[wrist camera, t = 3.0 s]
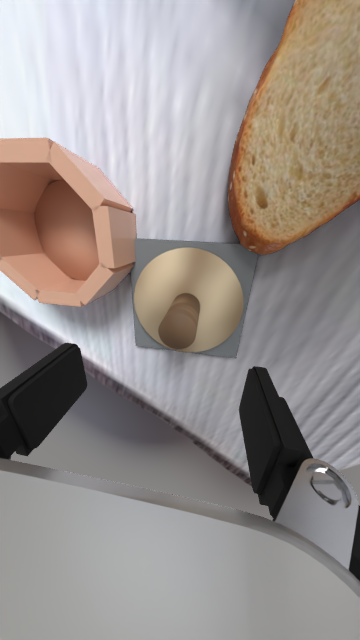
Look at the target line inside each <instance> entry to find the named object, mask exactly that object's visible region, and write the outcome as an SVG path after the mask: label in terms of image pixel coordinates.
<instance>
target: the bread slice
mask: <svg viewBox="0 0 360 640" xmlns="http://www.w3.org/2000/svg"><path fill="white" fill-rule="evenodd" d="M359 199H360V0H296V1H295V3H294V5H293V7H292V9H291V11H290V14H289V16H288V19H287V22H286V26H285V29H284V32H283V35H282V39H281V42H280V44H279V46H278V47H277V49H276V51H275V52H274V54H273V55H272V57H271V58H270V60H269V61H268V63H267V64H266V66H265V68H264V70H263V72H262V75H261V77H260V80H259V82H258V84H257V87H256V89H255V91H254V93H253V95H252V97H251V99H250V101H249V104H248V107H247V110H246V113H245V116H244V118H243V121H242V124H241V127H240V130H239V132H238V135H237V138H236V141H235V146H234V150H233V154H232V161H231V168H230V174H229V185H228V203H229V213H230V217H231V221H232V225H233V228H234V231H235V233H236V235H237V236H238V238H239V240H240V244H241V245H243V246H244V247H245V248H247V249H248V250H249V251H252V252H255V253H258V254H262V255H266V254H270V253H272V252H275V251H278V250H280V249H282V248H284V247H285V246H286V245H288V244H290V243H292V242H295V241H296V240H298V239H301V238H303V237H305V236H306V235H308V234H310V233H311V232H313V231H314V230H316V229H317V228H318V227H320V226H322V225H323V224H325V223H327V222H329V221H330V220H332V219H333V218H334V217H336V216H337V215H338V214H340V213H341V212H342V211H344V210H345V209H346V208H348V207H349V206H351V205H353V204H354V203H355V202H357V201H358V200H359Z"/></svg>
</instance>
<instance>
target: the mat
mask: <svg viewBox="0 0 360 640" xmlns="http://www.w3.org/2000/svg"><path fill="white" fill-rule="evenodd" d="M134 242H135V259H136V262H133V263H132V264H133V265H134V267H133V268H132V269H131V270H130V271H131V285H132V299H133V314H134V328H135V342H136V346H143V347H151V348H159V349H167V350H173V349H170V348H168V347H165V346H164V345H162V344H160V343H159V342H157V341H156V340H154V339H153V338H152V337H151V336H150V335H149V334H148V333H147V332H146V331H145V329H144V328H143V326H142V325H141V323H140V321H139V319H138V316H137V314H136V310H135V304H134V292H135V287H136V283H137V280H138V278H139V276H140V274H141V272H142V271H143V269H144V268H145V267H146V266H147V264H148V263H150V262H151V261H152V260H153V259H154V258H156V257H157V256H159V255H161V254H163V253H165V252H167V251H170V250H173V249H178V248H199V249H202V250H206V251H208V252H211V253H213V254H215V255H216V256H218V257H220V258H221V259H222V260H223V261H225V262H226V263H227V264H228V265H229V266H230V268H231V269H232V270H233V272H234V273H235V275H236V276H237V278H238V280H239V282H240V285H241V288H242V292H243V312H242V316H241V319H240V321H239V324H238V326H237V327H236V329H235V330H234V332H233V333H232V334H231V335H230V336H229V337H228V338H227V339H226V340H225V341H224V342H222V343H221V344H219V345H217V346H216V347H214V348H211V349H209V350H205V351H200V352H191V353H199V354H207V355H214V356H222V357H230V358H236V356H237V352H238V347H239V342H240V338H241V333H242V328H243V324H244V319H245V314H246V309H247V305H248V300H249V295H250V291H251V286H252V281H253V276H254V272H255V267H256V262H257V258H258V253H255V252H252V251H249V250H248V249H247V248H245V247H244V246H243V245H241V244H232V243H213V242H193V241H174V240H155V239H134ZM175 351H176V350H175Z"/></svg>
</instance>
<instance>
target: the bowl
mask: <svg viewBox="0 0 360 640" xmlns="http://www.w3.org/2000/svg"><path fill="white" fill-rule="evenodd" d="M132 210H133V208H132V207H131V205H130V204H129V203H128V202H127V201H126V200H125V198H124V197H123V196H122V195H121V194H120V193H119V191H118V190H117V189H116V188H115V187H114V186H113V184H112V183H111V182H110V181H109V180H108V179H107V177H106V176H105V175H104V174H103V173H102V172H101V170H100V169H99V168H97V167H96V166H94V165H92V164H91V163H89V162H87V161H86V160H84V159H82V158H81V157H79V156H77V155H76V154H74V153H73V152H71V151H69V150H68V149H66V148H64V147H63V146H61V145H59V144H58V143H56V142H53V141H52V140H50V139H48V138H14V139H0V271H2V272H3V273H4V274H5V275H6V276H7V277H8V278H9V279H11V280H12V281H13V282H14V283H15V284H16V285H17V286H19V287H20V288H21V289H22V290H23V291H24V292H25V293H27V294H28V295H29V296H30V297H31V298H32V299H33V300H36V299H38V301H39V303H49V304H58V305H68V306H78V307H82V306H83V305H87V304H89V303H90V302H92V301H94V300H96V299H98V298H99V297H101V296H103V295H105V294H107V293H109V292H110V291H112V290H113V289H114V288H115V287H116V286H117V285H118V284H119V283H120V282H121V281H122V280H123V279H124V278H125V277H126V276H127V274H128V273H129V272H130V270H131V269H132V268H133V267H134V265H133V264H132V263H133V262H136V259H135V242H134V239H137V236H136V216H135V214H134V213H130V212H131V211H132Z"/></svg>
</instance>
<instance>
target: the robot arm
mask: <svg viewBox="0 0 360 640" xmlns="http://www.w3.org/2000/svg"><path fill="white" fill-rule="evenodd" d="M86 387H87V381H86V375H85V370H84V366H83V361H82V356H81V351H80V348H79V347H78V346H77V345H76V344H71V343H64V344H63V345H61V346H60V347H58V348H57V349H55V350H54V351H53V352H52V353H50V354H48V355H47V356H45V357H44V358H43V359H41V360H40V361H39V362H37V363H36V364H34V365H33V366H31V367H30V368H29V369H27V370H26V371H24V372H23V373H21V374H20V375H19V376H17V377H16V378H14V379H13V380H12V381H10V382H9V383H7V384H6V385H4V386H3V387H2V388H0V640H360V506H359V505H358V498H357V496H356V493H355V491H354V489H353V488H352V486H351V485H350V483H349V482H348V481H347V480H346V478H345V477H344V476H343V475H342V474H341V473H340V472H339V471H338V470H336V469H335V468H334V467H333V466H331V465H329V464H328V463H326V462H324V461H321V460H318V459H313V457H312V454H311V452H310V450H309V448H308V446H307V444H306V442H305V440H304V438H303V436H302V434H301V432H300V430H299V427H298V425H297V423H296V421H295V419H294V417H293V415H292V413H291V411H290V409H289V407H288V405H287V403H286V401H285V399H284V398H282V397H279V396H278V393H277V391H276V389H275V387H274V385H273V382H272V380H271V378H270V376H269V373H268V371H267V369H266V368H263V367H255V366H254V367H253V368H252V369H249V370H248V374H247V378H246V382H245V386H244V390H243V395H242V399H241V403H240V407H239V414H240V420H241V426H242V431H243V437H244V443H245V448H246V454H247V460H248V465H249V471H250V477H251V482H252V488H253V491H254V493H257V494H258V497H259V502H260V504H261V505H266V506H268V507H269V511H270V515H271V516H272V517H273V520H272V521H271V520H269V519H266V518H264V517H261V516H257V515H254V514H250V513H247V512H244V511H241V510H237V509H232V508H228V507H224V506H220V505H216V504H212V503H208V502H204V501H199V500H195V499H191V498H186V497H182V496H177V495H173V494H168V493H163V492H159V491H154V490H150V489H145V488H140V487H135V486H131V485H127V484H122V483H117V482H113V481H108V480H103V479H98V478H94V477H89V476H84V475H80V474H75V473H70V472H65V471H61V470H55V469H51V468H46V467H41V466H37V465H31V464H27V463H22V462H17V461H12V460H10V459H11V455H12V454H13V453H14V452H15V451H16V453H17V454H20V455H24V456H28V455H29V454H30V452H31V451H32V450H33V449H34V448H37V447H38V446H39V445H40V444H41V443H42V441H43V440H44V439H45V438H46V437H47V435H48V434H49V433H50V432H51V431H52V429H53V428H54V427H55V426H56V425H57V423H58V422H59V421H60V420H61V419H62V417H63V416H64V415H65V414H66V412H67V411H68V410H69V409H70V407H71V406H72V405H73V404H74V403H75V402H76V401H77V399H78V398H79V397H80V396H81V394H82V393H83V392H84V391H85V389H86Z"/></svg>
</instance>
